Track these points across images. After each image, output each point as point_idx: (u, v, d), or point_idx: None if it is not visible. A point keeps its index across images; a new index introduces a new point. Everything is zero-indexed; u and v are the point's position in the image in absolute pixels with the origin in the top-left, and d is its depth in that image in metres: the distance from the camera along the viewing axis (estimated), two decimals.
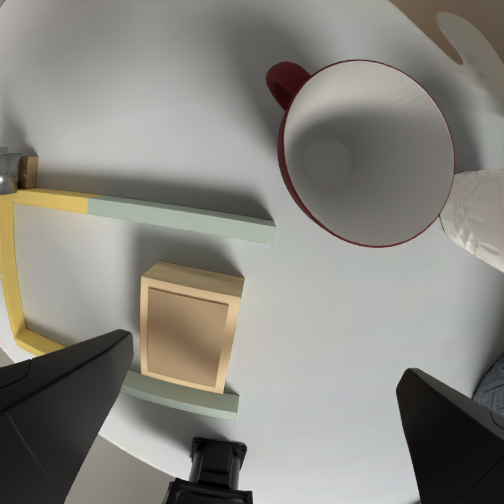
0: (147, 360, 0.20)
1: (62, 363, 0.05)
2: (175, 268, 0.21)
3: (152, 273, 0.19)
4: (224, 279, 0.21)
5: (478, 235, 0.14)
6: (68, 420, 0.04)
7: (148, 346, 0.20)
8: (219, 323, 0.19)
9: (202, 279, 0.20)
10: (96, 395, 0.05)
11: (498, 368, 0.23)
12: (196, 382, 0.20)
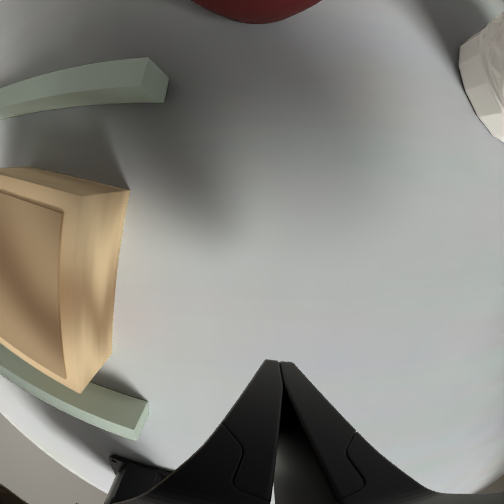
0: None
1: (262, 416, 0.05)
2: (37, 171, 0.10)
3: None
4: (91, 184, 0.10)
5: None
6: None
7: None
8: (50, 250, 0.08)
9: (56, 179, 0.09)
10: None
11: None
12: (40, 362, 0.09)
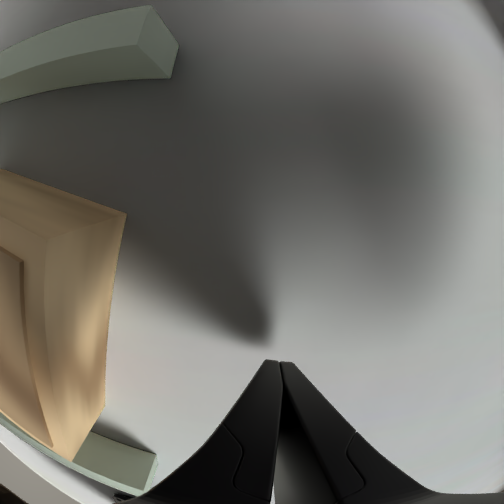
0: None
1: (262, 416, 0.05)
2: (4, 177, 0.07)
3: None
4: (71, 204, 0.07)
5: None
6: None
7: None
8: (11, 312, 0.05)
9: (22, 194, 0.06)
10: None
11: None
12: (20, 424, 0.06)
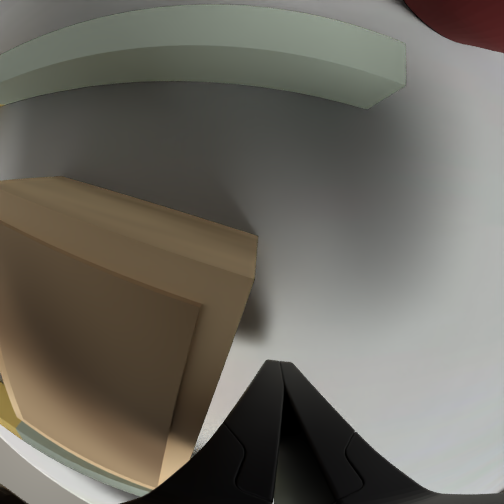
0: (16, 398, 0.06)
1: (263, 416, 0.05)
2: (82, 187, 0.07)
3: (16, 183, 0.05)
4: (202, 225, 0.07)
5: None
6: None
7: (10, 372, 0.06)
8: (162, 364, 0.05)
9: (135, 213, 0.06)
10: None
11: None
12: (114, 469, 0.06)
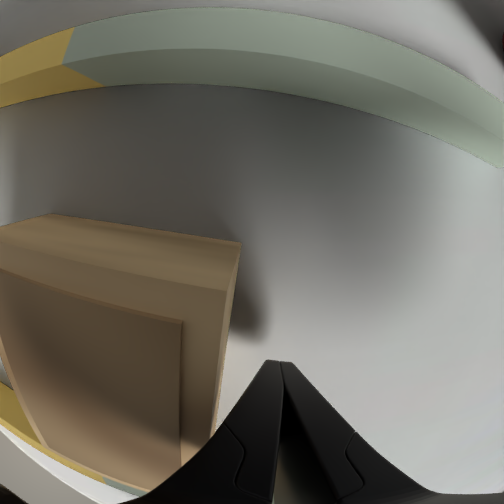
0: (39, 429, 0.06)
1: (263, 416, 0.05)
2: (68, 222, 0.07)
3: (5, 229, 0.05)
4: (183, 242, 0.07)
5: None
6: None
7: (30, 404, 0.06)
8: (158, 380, 0.05)
9: (118, 240, 0.06)
10: None
11: None
12: (139, 485, 0.06)
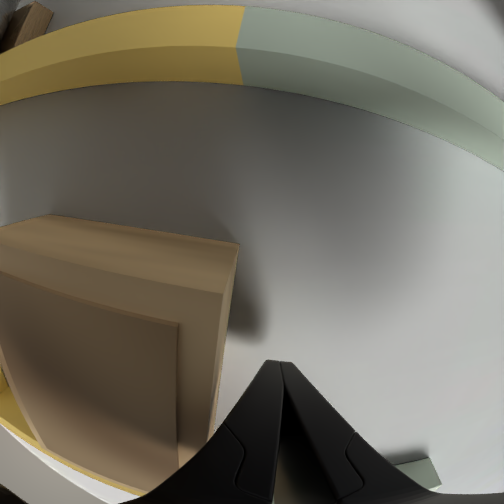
0: (37, 430, 0.06)
1: (263, 416, 0.05)
2: (66, 224, 0.07)
3: (3, 230, 0.05)
4: (180, 243, 0.07)
5: None
6: None
7: (27, 406, 0.06)
8: (155, 383, 0.05)
9: (114, 242, 0.06)
10: None
11: None
12: (137, 486, 0.06)
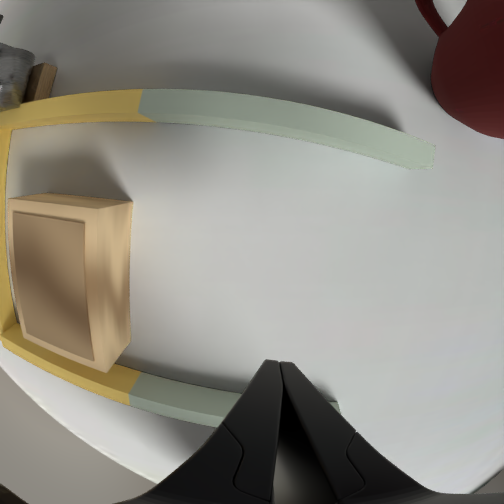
0: (23, 316, 0.12)
1: (262, 416, 0.05)
2: (54, 195, 0.13)
3: (23, 197, 0.12)
4: (101, 200, 0.13)
5: None
6: None
7: (21, 296, 0.12)
8: (76, 253, 0.11)
9: (73, 199, 0.13)
10: None
11: None
12: (71, 350, 0.13)
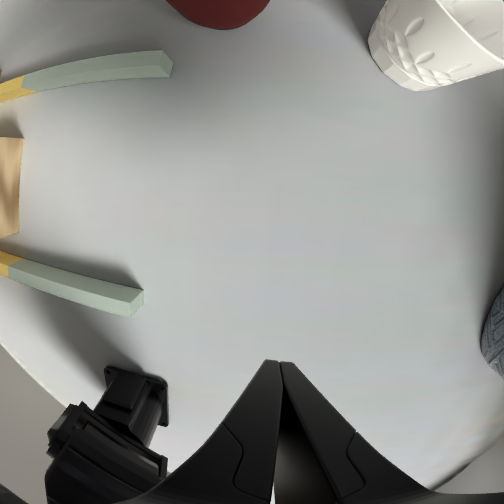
0: None
1: (261, 416, 0.05)
2: None
3: None
4: None
5: (399, 25, 0.10)
6: None
7: None
8: None
9: None
10: None
11: None
12: None
